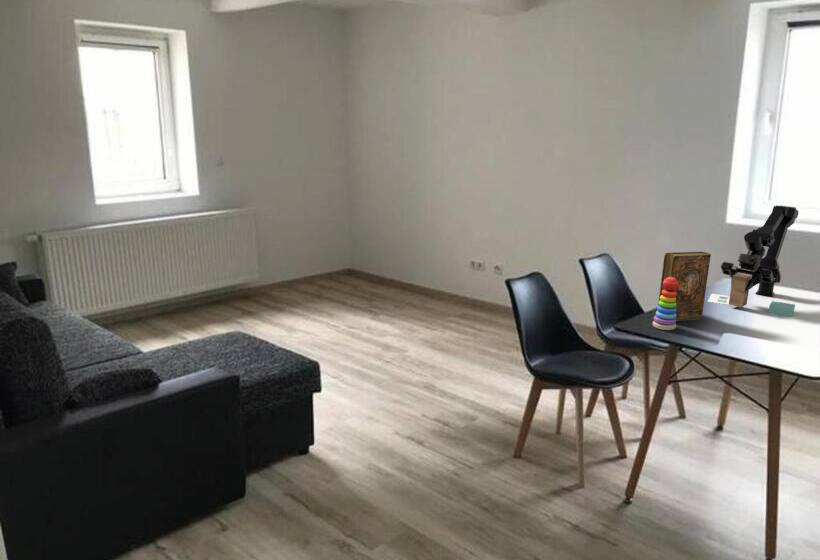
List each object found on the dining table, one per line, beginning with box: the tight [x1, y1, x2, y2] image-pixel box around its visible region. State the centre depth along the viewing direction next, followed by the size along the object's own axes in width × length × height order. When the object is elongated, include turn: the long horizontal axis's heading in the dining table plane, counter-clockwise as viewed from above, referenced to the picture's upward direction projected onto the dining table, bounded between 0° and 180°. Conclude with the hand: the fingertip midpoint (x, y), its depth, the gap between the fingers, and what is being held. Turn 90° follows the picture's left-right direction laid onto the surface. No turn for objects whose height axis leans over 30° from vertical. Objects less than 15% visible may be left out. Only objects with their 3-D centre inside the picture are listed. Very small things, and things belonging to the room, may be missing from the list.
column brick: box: [728, 273, 752, 308], centre depth 258 cm, size 5×5×12 cm
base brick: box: [768, 300, 796, 318], centre depth 256 cm, size 8×8×3 cm
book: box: [656, 251, 712, 322], centre depth 243 cm, size 16×6×25 cm, turn 102°
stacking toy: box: [652, 277, 678, 331], centre depth 233 cm, size 8×8×19 cm
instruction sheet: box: [707, 293, 730, 306], centre depth 271 cm, size 14×10×1 cm
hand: (738, 289), depth 257 cm, fingers closed on column brick, 5 cm apart
